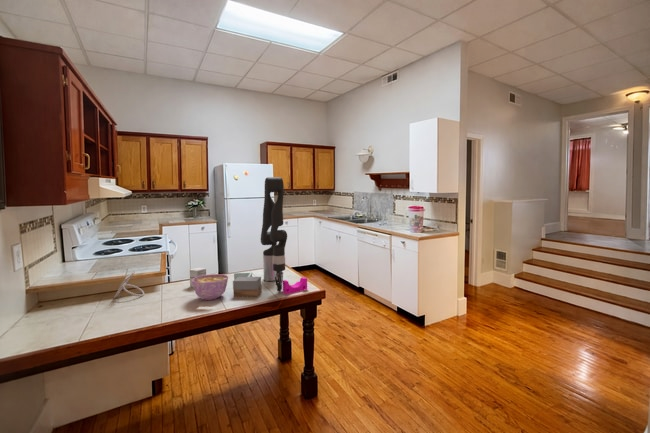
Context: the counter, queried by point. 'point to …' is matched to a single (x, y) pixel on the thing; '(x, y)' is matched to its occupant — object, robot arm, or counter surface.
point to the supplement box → (196, 274)
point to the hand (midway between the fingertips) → (279, 290)
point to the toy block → (295, 286)
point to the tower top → (246, 283)
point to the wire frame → (128, 285)
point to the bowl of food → (210, 286)
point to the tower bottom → (248, 292)
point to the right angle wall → (242, 275)
